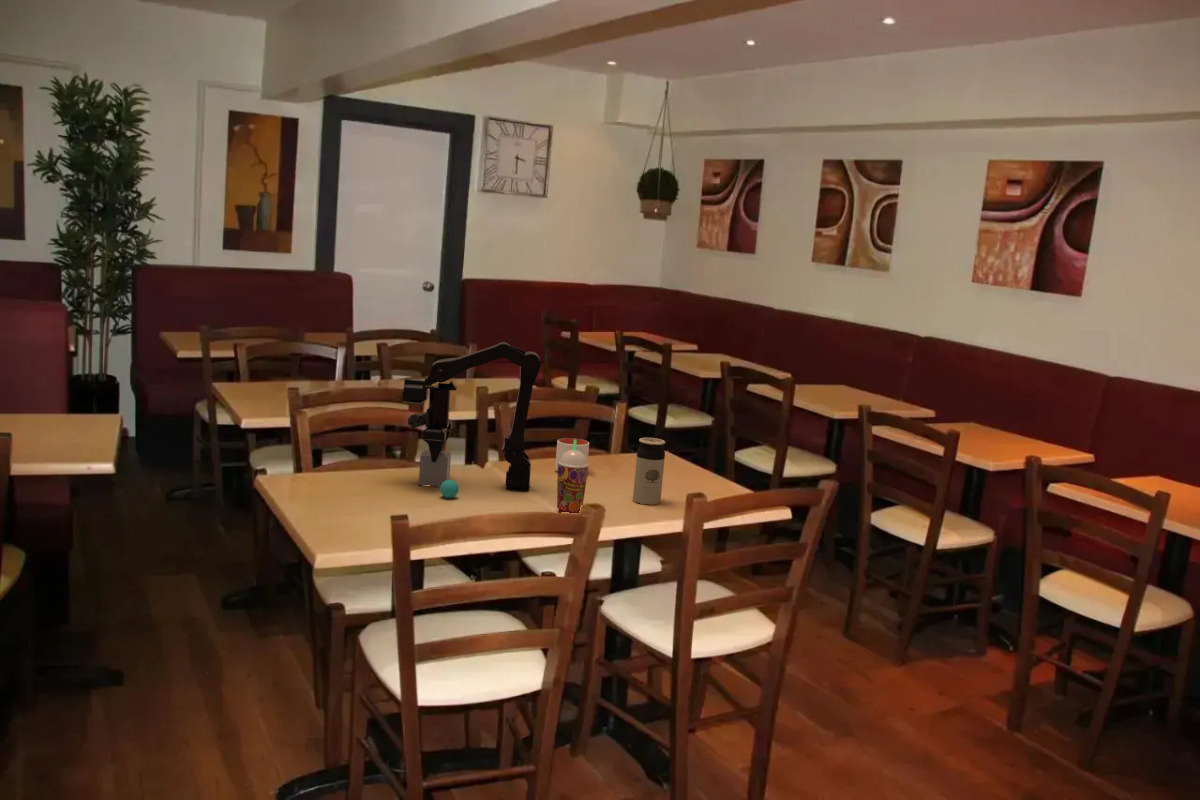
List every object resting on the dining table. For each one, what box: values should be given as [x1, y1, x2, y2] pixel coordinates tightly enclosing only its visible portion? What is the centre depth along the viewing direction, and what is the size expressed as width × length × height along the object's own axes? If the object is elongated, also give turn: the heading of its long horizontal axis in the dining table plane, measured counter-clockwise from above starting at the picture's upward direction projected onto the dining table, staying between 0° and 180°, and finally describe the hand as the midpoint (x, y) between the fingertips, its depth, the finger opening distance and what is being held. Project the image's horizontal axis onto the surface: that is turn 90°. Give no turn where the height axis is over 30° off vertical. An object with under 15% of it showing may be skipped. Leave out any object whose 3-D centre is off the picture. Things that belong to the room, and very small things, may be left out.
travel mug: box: [632, 437, 666, 505], centre depth 290 cm, size 8×8×18 cm
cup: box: [554, 437, 590, 472], centre depth 318 cm, size 10×10×10 cm
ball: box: [439, 479, 460, 499], centre depth 277 cm, size 5×5×5 cm
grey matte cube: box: [418, 449, 452, 488], centre depth 290 cm, size 8×8×9 cm
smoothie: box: [556, 440, 590, 513], centre depth 271 cm, size 8×8×20 cm
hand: (436, 458), depth 290 cm, fingers open, 9 cm apart
